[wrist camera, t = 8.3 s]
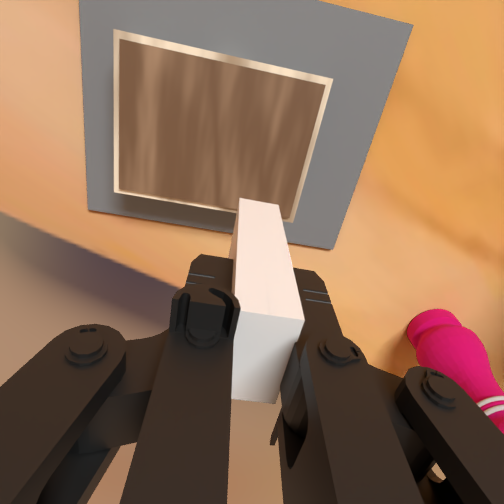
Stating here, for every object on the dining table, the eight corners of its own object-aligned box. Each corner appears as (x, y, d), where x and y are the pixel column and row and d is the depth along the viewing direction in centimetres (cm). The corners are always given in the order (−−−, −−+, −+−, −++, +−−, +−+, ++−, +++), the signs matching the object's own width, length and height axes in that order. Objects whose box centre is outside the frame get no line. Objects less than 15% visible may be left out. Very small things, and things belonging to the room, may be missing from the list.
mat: (410, 25, 27) (413, 24, 27) (331, 247, 37) (332, 249, 37) (79, -60, 24) (76, -62, 24) (89, 207, 34) (87, 209, 34)
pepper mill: (419, 300, 41) (549, 472, 24) (470, 311, 43) (629, 483, 25) (393, 342, 45) (489, 519, 27) (440, 351, 46) (562, 527, 28)
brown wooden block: (334, 79, 25) (111, 28, 23) (293, 224, 31) (112, 193, 29) (322, 76, 29) (130, 33, 27) (287, 206, 34) (127, 178, 32)
